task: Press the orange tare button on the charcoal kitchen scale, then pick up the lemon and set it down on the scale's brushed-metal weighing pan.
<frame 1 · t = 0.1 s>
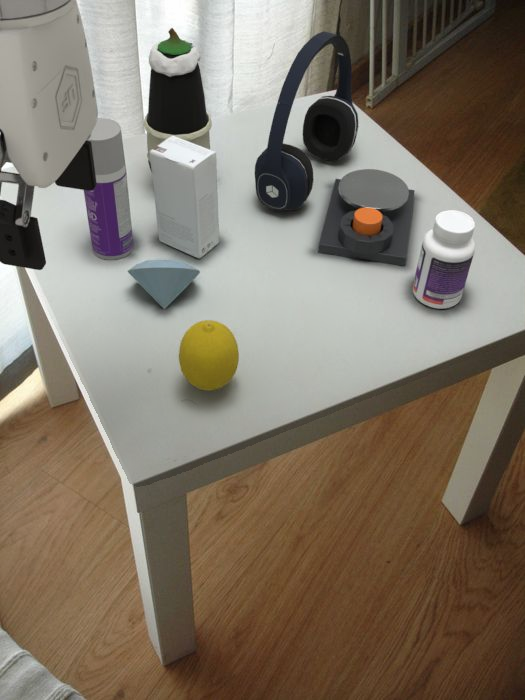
hand: (51, 223, 57), 22 cm above the table, tool pointing down, fingers open, 9 cm apart
gemstone: (165, 293, 85), on the table
pill bottle: (436, 295, 86), on the table
scale: (367, 223, 95), on the table
container: (113, 248, 90), on the table
cosmetic box: (187, 243, 91), on the table
tare button: (367, 221, 89), point 3 cm above the table, slide at 0.1 cm
toy: (180, 187, 99), on the table
lemon: (209, 386, 75), on the table
scale pan: (369, 212, 96), resting on scale
earphone: (305, 180, 101), on the table
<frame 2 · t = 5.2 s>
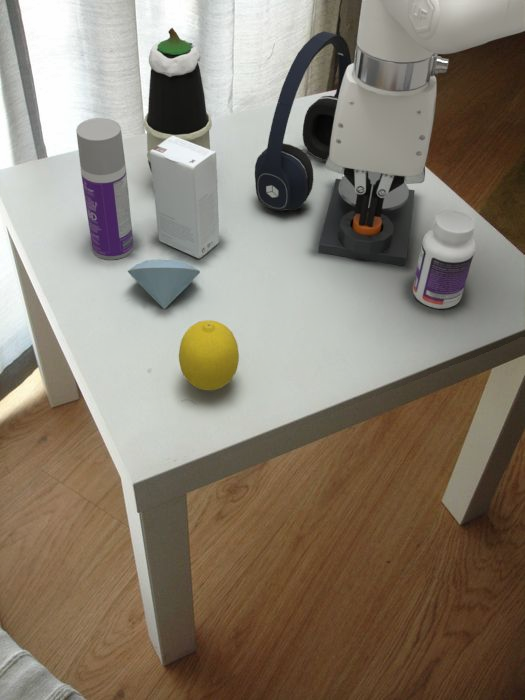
hand: (366, 218, 89), 4 cm above the table, tool pointing down, fingers closed
tare button: (366, 226, 90), point 3 cm above the table, slide at -0.5 cm, touching gripper
everything else where it was.
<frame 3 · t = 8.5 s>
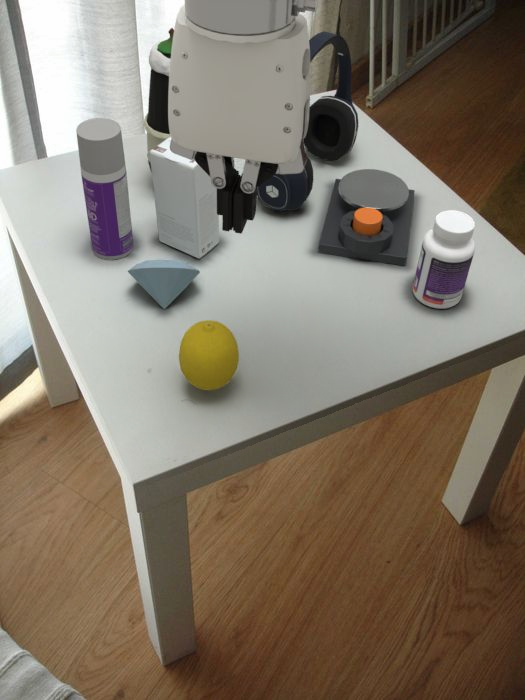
hand: (236, 222, 66), 17 cm above the table, tool pointing down, fingers closed
tare button: (367, 221, 89), point 3 cm above the table, slide at 0.1 cm
everything else where it was.
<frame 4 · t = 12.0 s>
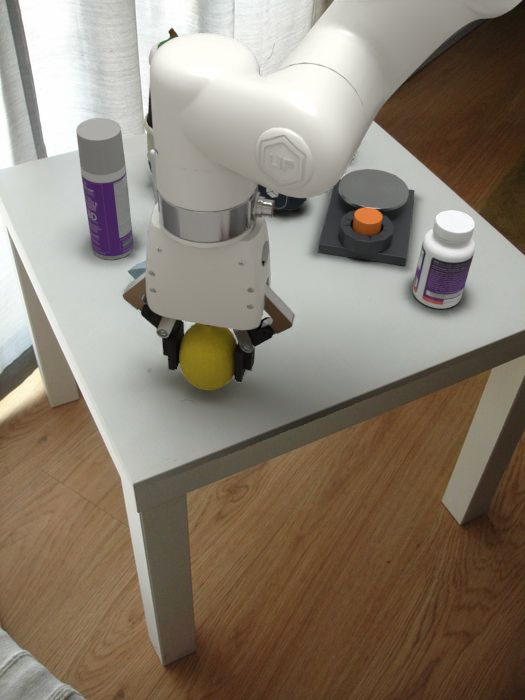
hand: (208, 364, 73), 3 cm above the table, tool pointing down, fingers closed on lemon, 5 cm apart
lemon: (209, 386, 75), on the table, touching gripper
everything else where it was.
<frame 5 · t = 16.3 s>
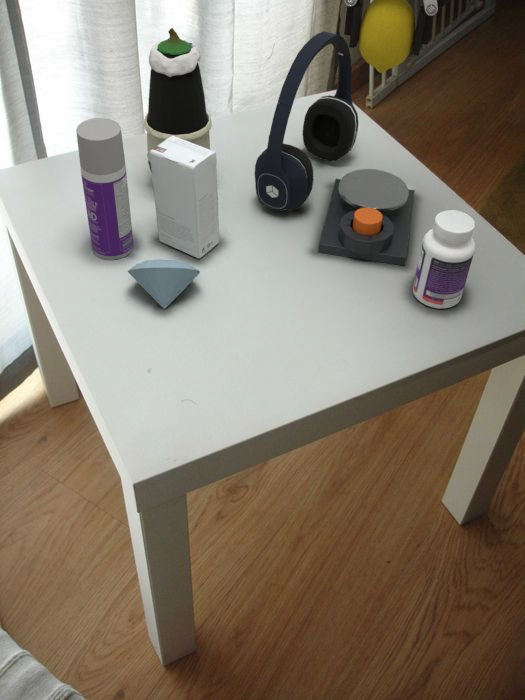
hand: (385, 44, 78), 22 cm above the table, tool pointing down, fingers closed on lemon, 5 cm apart
lemon: (380, 74, 81), point 19 cm above the table, touching gripper
everything else where it was.
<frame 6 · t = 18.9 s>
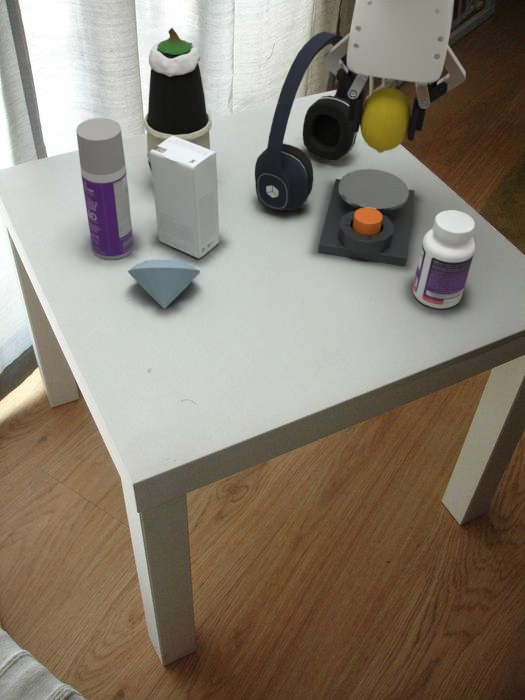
hand: (383, 129, 88), 11 cm above the table, tool pointing down, fingers closed on lemon, 5 cm apart
lemon: (379, 153, 91), point 8 cm above the table, touching gripper
everything else where it was.
when the fingers open (6 cm above the table, at t = 20.6 s): lemon stays where it is, resting on scale pan.
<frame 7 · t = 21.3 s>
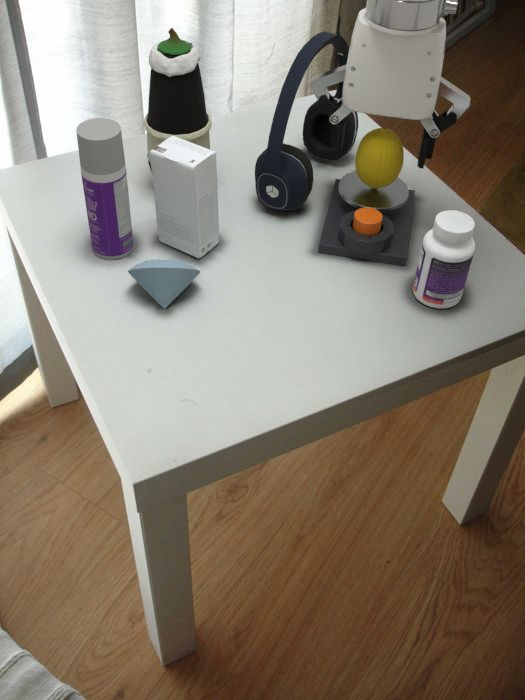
hand: (379, 156, 91), 8 cm above the table, tool pointing down, fingers open, 9 cm apart
lemon: (374, 189, 94), point 3 cm above the table, touching scale pan
everything else where it was.
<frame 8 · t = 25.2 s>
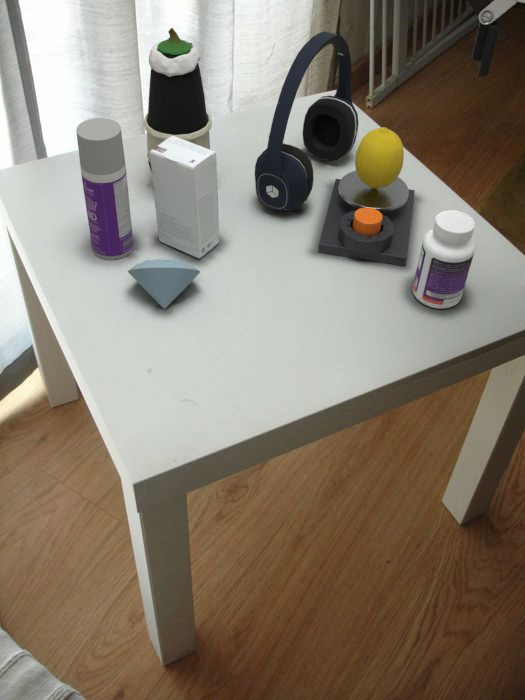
nothing on the table moved.
at the end: tare button pushed in 1.1 cm at the most during the clip, back to where it started at the end; tare button slide at 0.1 cm; lemon inside the target area on the scale (0.1 cm from its centre), point 3.3 cm above the scale's base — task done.
